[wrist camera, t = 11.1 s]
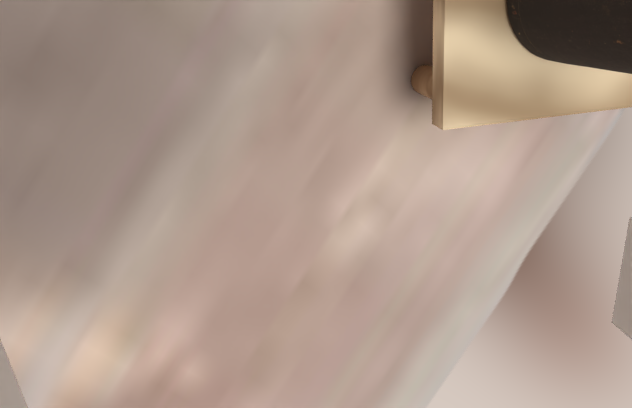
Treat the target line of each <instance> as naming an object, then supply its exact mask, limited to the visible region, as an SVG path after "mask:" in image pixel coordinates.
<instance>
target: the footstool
mask: <svg viewBox="0 0 632 408" xmlns="http://www.w3.org/2000/svg"><path fill="white" fill-rule="evenodd" d="M411 84H412V87H413V89H414V90H415V91H416V92H418V93H420V94H422V95H424V96H426V97H428V98H430V99H432V124H434V125H435V126H437V127H438V128H440V129H442V130H448V129H456V128H464V127H473V126H481V125H489V124H497V123H505V122H513V121H522V120H530V119H538V118H546V117H554V116H562V115H570V114H579V113H587V112H595V111H603V110H611V109H619V108H628V107H632V74H628V73H622V72H615V71H609V70H603V69H597V68H590V67H583V66H577V65H570V64H564V63H559V62H554V61H549V60H545V59H542V58H540V57H537V56H536V55H534V54H532V53H531V52H529V51H528V50H527V49H526V48H525V47H524V46H523V45H522V44H521V43H520V41H519V40H518V39H517V37H516V36H515V34H514V32H513V30H512V28H511V25H510V22H509V18H508V13H507V0H433V66H431V65H422V66H419V67H418V68H417V69H416V70H415V71H414V72H413V74H412V77H411Z"/></svg>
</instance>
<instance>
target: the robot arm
mask: <svg viewBox="0 0 632 408" xmlns="http://www.w3.org/2000/svg"><path fill="white" fill-rule="evenodd" d="M612 323H613V324H614V325H615V326H616V327H618V328H619V329H620V330H621V331H622V332H623V333H625V334H626V335H627V336H628V337H629V338H631V339H632V217H630V219H629V224H628V230H627V236H626V242H625V248H624V253H623V259H622V265H621V271H620V277H619V283H618V288H617V294H616V300H615V306H614V312H613V317H612ZM0 408H28V407H27V404H26V402H25V399H24V397H23V394H22V392H21V389H20V387H19V384H18V382H17V379H16V377H15V374H14V372H13V369H12V367H11V364H10V362H9V359H8V357H7V354H6V352H5V349H4V347H3V344H2V342H1V339H0Z"/></svg>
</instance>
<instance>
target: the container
mask: <svg viewBox="0 0 632 408" xmlns="http://www.w3.org/2000/svg"><path fill="white" fill-rule="evenodd" d="M507 13H508V18H509V22H510V25H511V28H512V30H513V32H514V34H515V36H516V37H517V39H518V40H519V41H520V43H521V44H522V45H523V46H524V47H525V48H526V49H527V50H528V51H529V52H531V53H532V54H534V55H536V56H537V57H540V58H542V59H545V60H549V61H554V62H559V63H564V64H570V65H577V66H583V67H590V68H597V69H603V70H609V71H615V72H622V73H628V74H632V0H507Z"/></svg>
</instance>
